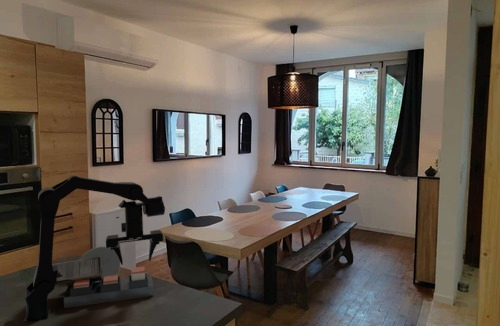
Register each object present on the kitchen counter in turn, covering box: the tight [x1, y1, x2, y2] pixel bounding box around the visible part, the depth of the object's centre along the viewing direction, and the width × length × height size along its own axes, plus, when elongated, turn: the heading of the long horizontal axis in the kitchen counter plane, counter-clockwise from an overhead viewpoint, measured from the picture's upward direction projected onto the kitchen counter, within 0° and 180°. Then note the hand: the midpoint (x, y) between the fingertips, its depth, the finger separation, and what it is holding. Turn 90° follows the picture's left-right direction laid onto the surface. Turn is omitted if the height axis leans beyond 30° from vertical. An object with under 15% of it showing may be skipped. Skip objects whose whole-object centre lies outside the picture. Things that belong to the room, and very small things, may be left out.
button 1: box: [130, 266, 146, 281], centre depth 124 cm, size 4×4×3 cm
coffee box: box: [52, 257, 102, 290], centre depth 123 cm, size 9×6×16 cm
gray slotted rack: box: [63, 272, 155, 309], centre depth 123 cm, size 10×28×6 cm, turn 110°
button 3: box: [73, 279, 90, 288], centre depth 118 cm, size 4×4×3 cm
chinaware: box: [79, 246, 121, 283], centre depth 133 cm, size 15×15×8 cm
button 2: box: [103, 274, 119, 285], centre depth 121 cm, size 4×4×3 cm
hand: (136, 262), depth 124 cm, fingers open, 9 cm apart
